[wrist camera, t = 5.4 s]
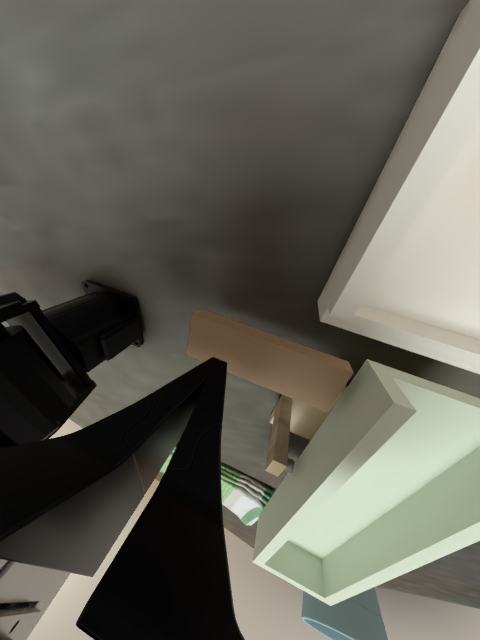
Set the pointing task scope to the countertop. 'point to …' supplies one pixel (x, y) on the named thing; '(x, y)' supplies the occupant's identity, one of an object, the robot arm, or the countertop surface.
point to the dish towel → (240, 493)
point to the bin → (423, 222)
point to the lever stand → (292, 430)
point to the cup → (346, 617)
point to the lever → (357, 464)
